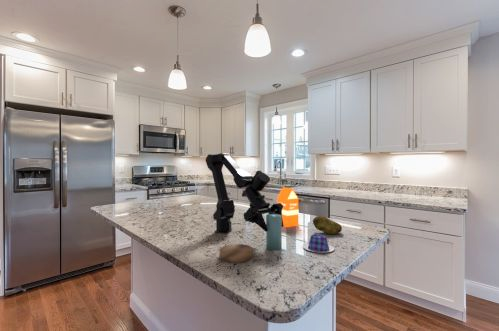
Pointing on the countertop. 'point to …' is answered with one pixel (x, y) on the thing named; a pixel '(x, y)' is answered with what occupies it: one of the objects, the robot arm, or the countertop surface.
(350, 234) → the countertop surface
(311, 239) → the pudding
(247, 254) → the base plate
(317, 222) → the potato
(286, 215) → the orange juice
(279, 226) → the teal tapered cylinder
